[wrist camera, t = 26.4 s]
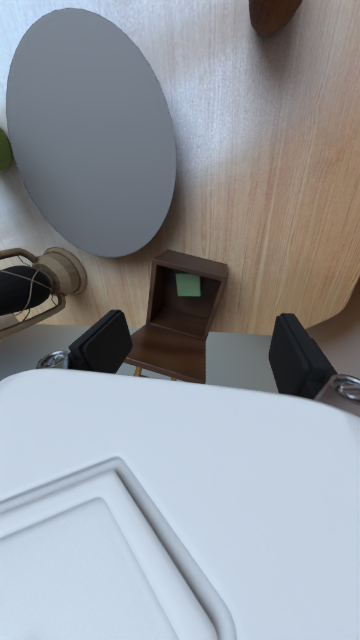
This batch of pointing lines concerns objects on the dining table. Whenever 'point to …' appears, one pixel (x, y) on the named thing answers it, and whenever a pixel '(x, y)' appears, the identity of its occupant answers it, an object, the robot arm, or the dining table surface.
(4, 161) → the flower pot
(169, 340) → the lid
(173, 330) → the chest
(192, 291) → the block
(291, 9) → the wooden figurine
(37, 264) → the lantern
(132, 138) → the flat disc
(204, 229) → the dining table surface
